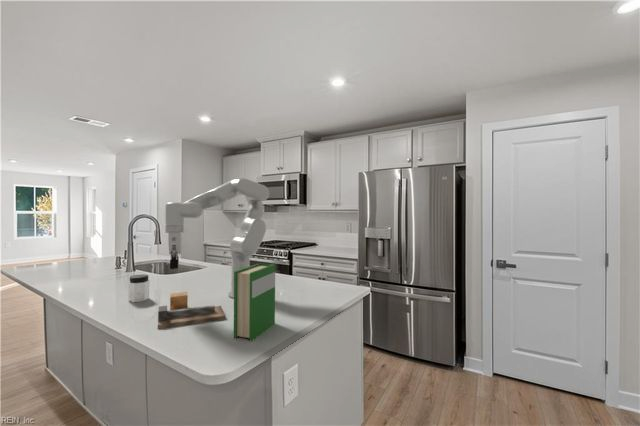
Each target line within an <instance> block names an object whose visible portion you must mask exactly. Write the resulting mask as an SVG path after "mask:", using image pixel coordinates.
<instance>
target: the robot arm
mask: <svg viewBox="0 0 640 426" xmlns="http://www.w3.org/2000/svg"><path fill="white" fill-rule="evenodd" d="M238 196H244V197H245V198H246V201H247V204H248V205H247V206H248V207H247V211H246V212H245V213H246V214H245V215H244V217H243V220H242V222H241V224H240V232H241V233H242V234H244V235H245V236H244V235H243V236H242V235H238V236H235V237H233V238H232V239H231V241H230V243H229V250H230V257H231V268H230V269H231V273H230V274H231V275H230V276H231V278H230V279H231V281H230V282H231V284H230V285H231V288H230V290H231V291H230V292H228V294H227V295H228V297H229V298H231V299H234V271H237V270H240V269H243V268H246V267H249V266H251V265H250V264H251V259H250V257H251V256H254V255H255V254H257V252H258V251H259V249H260V246H261V244H262V241H263V239H264V236H265V234H266V231H267V225H266V222H265V221H264V220H263V219H262V217H263V214H264V204H263V202H264V201H266V200H268V198H269V197H270V189H269V188H268V187H267V186H266V185H264V184H262V183H258V182H256V181H253V180H250V179H248V178H234V179H231V180H229V181H228V182H225V183H223V184H221V185H219V186H217V187H215V188H214V189H211V190H209V191H207V192H204V193H201V194H199V195H197V196H195V197H193V198H191V199H189V200H187V201H184V202H175V201H174V202H167V203H166V204H165V227H164V229H165V233H166V234H168V237H167V238H168V240H167V241H168V243H167V244H168V254H169V256H170V260H169V269H170V270H178V269H179V258H180V257H179V255H182V233H184V231H185V230H184V227H185V225H184V224H185V223H184V222H185V221H184V219H185V218H187V219H197V218H200V217H201V216H202V215H203V213H204V210H206V209H209V208H214V207H217V206H222V205H224V204H225V203H227V202H228V201H230V200H232V199H235V198H236V197H238Z"/></svg>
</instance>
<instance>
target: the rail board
mask: <svg viewBox="0 0 640 426" xmlns="http://www.w3.org/2000/svg"><path fill="white" fill-rule="evenodd" d="M215 320H216V321H222V320H226V314H225V312H224V310H223V307H222V305H217V306H215V305H213V304H211V305H205V306H197V307H189V308H188V307H187V309H179V310H170V309H169V310H168V305H162V306H161V305H160V306H159V307H158V311H157V329H166V328H174V327H180V326H186V325H194V324H202V323H208V321H209V322H215Z"/></svg>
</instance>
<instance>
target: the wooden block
mask: <svg viewBox="0 0 640 426" xmlns="http://www.w3.org/2000/svg"><path fill="white" fill-rule="evenodd" d="M169 297H170V299H169V300H170V301H169V305H170V307H169V311H170V310H179V309H187V308H188V303H189V302H188V300H189V299H188V291H183V292H182V291H181V292H173V293H170V296H169Z"/></svg>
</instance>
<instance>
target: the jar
mask: <svg viewBox="0 0 640 426" xmlns="http://www.w3.org/2000/svg"><path fill="white" fill-rule="evenodd" d="M149 299H150V280H149V275H148V274H145V273H144V274H143V273H141V274H135V275H134V274H133V275H131V276H129V282H128V302H131V303H141V302H145V301H147V300H149Z"/></svg>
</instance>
